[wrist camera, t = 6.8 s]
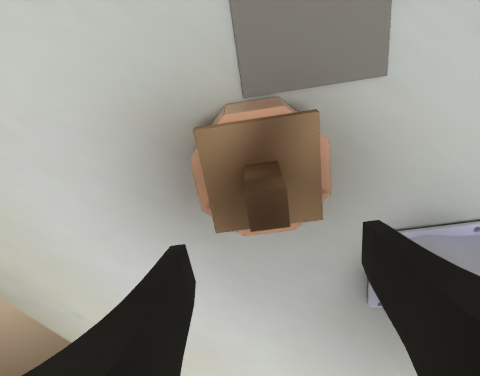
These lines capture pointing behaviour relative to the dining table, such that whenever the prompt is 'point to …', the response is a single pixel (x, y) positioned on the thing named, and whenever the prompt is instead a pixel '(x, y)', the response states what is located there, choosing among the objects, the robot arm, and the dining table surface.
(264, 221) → the lid
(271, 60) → the mat
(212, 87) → the dining table surface
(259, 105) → the octagonal copper pot
